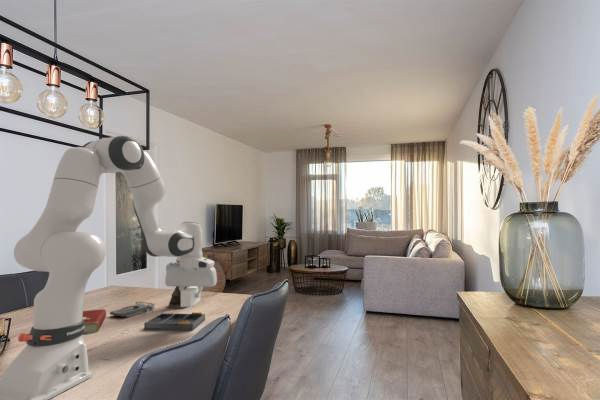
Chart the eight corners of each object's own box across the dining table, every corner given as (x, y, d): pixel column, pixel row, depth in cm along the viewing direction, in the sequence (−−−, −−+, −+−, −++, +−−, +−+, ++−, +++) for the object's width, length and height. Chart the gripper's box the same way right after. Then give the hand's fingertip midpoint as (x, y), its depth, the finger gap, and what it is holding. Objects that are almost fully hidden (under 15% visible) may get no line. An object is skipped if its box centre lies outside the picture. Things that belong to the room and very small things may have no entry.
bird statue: (202, 300, 179) (203, 231, 181) (204, 306, 167) (204, 232, 169) (168, 303, 174) (169, 232, 176) (167, 309, 162) (168, 233, 163)
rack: (192, 330, 131) (192, 322, 131) (144, 329, 133) (144, 321, 133) (205, 320, 145) (205, 312, 145) (161, 319, 146) (161, 311, 147)
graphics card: (137, 300, 167) (155, 302, 162) (137, 308, 167) (155, 310, 162) (104, 309, 152) (122, 312, 147) (104, 318, 152) (123, 321, 146)
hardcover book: (106, 317, 151) (106, 308, 151) (98, 332, 131) (98, 321, 132) (73, 321, 146) (73, 311, 147) (60, 337, 127) (60, 325, 127)
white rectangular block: (190, 306, 134) (190, 291, 134) (180, 306, 134) (180, 291, 134) (200, 300, 144) (200, 285, 144) (191, 300, 144) (191, 285, 144)
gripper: (162, 263, 137) (162, 299, 137) (213, 263, 135) (213, 299, 135) (169, 261, 144) (169, 295, 143) (218, 261, 142) (218, 295, 141)
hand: (191, 297), depth 139 cm, fingers closed on white rectangular block, 4 cm apart
